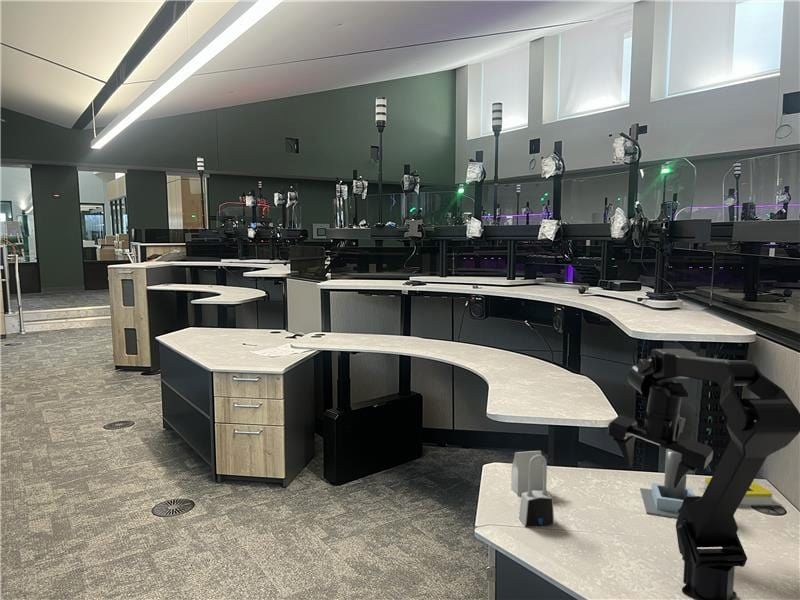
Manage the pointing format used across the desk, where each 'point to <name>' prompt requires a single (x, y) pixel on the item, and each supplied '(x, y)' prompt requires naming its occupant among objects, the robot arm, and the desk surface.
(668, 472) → the plug
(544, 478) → the padlock
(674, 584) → the desk surface
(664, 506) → the dock
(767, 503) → the emergency button
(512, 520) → the desk surface
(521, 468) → the grey chamfered block
